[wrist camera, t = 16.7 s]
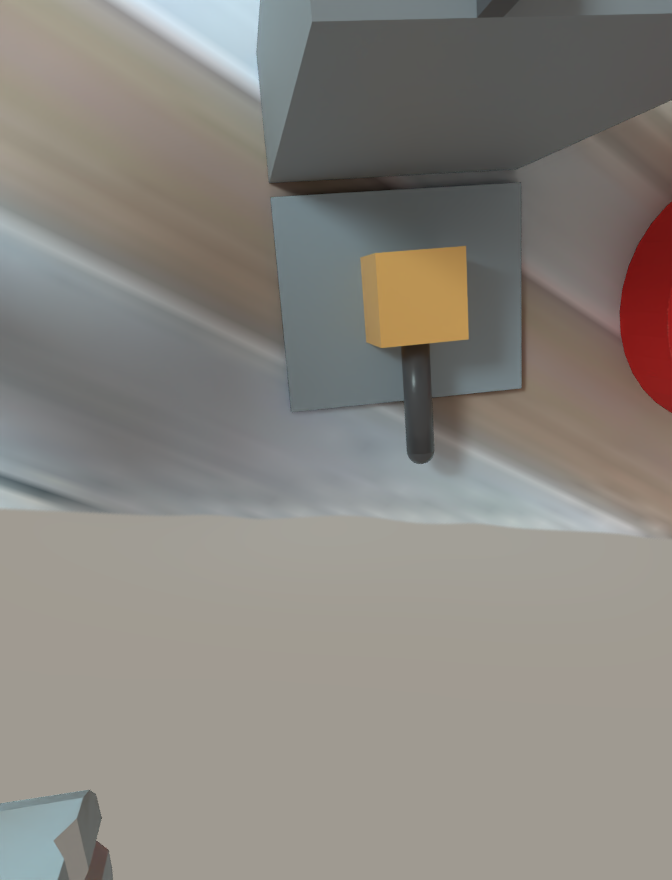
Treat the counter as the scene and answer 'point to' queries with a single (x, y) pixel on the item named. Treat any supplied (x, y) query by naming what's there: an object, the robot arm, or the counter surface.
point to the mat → (341, 296)
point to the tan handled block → (416, 323)
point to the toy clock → (650, 311)
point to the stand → (450, 81)
